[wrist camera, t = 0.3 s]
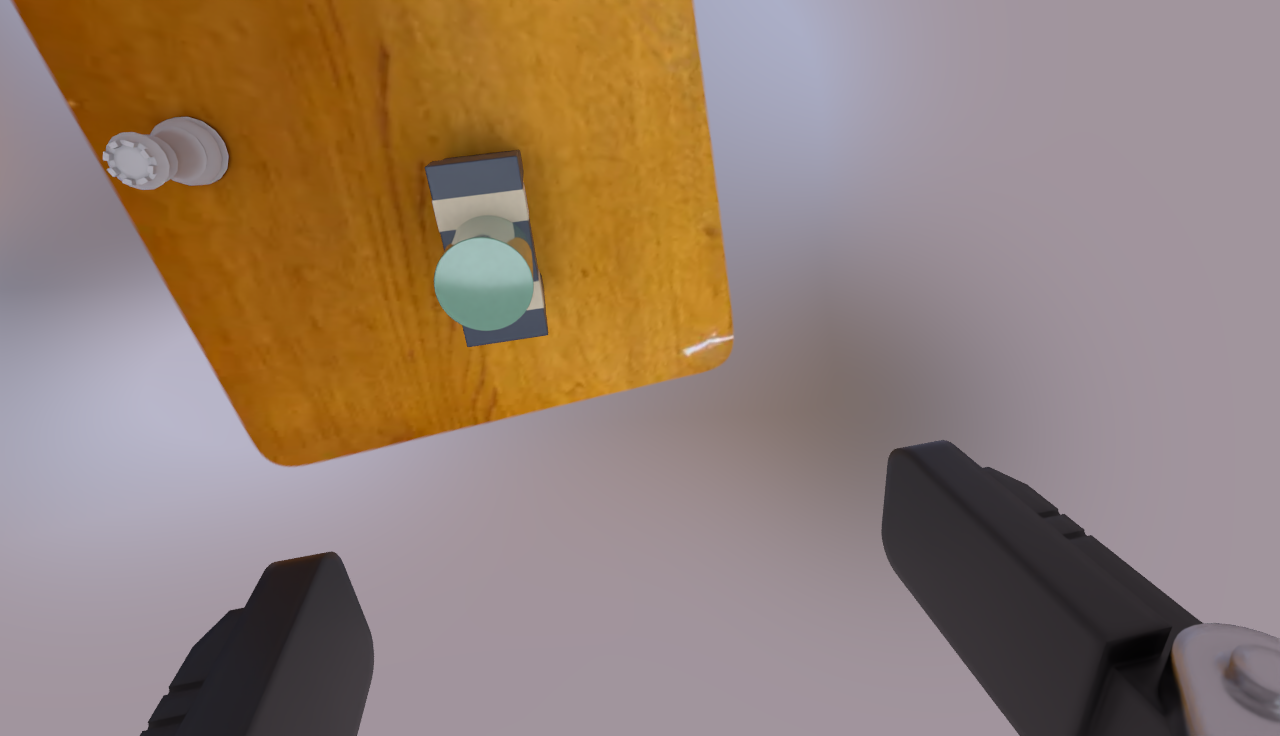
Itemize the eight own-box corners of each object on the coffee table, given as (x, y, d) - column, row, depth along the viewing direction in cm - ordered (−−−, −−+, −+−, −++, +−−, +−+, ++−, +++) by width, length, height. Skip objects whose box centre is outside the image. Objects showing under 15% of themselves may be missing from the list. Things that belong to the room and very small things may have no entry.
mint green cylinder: (438, 221, 38) (422, 244, 33) (524, 209, 39) (524, 231, 33) (458, 302, 41) (446, 337, 35) (539, 290, 41) (541, 323, 35)
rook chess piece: (182, 191, 43) (113, 211, 36) (144, 126, 41) (64, 133, 34) (244, 174, 44) (188, 191, 36) (210, 108, 42) (143, 112, 34)
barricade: (442, 153, 45) (423, 166, 37) (519, 144, 46) (517, 155, 38) (476, 306, 50) (466, 347, 42) (545, 296, 51) (549, 335, 43)
